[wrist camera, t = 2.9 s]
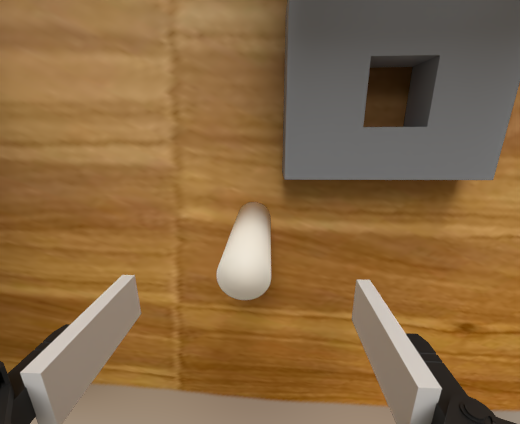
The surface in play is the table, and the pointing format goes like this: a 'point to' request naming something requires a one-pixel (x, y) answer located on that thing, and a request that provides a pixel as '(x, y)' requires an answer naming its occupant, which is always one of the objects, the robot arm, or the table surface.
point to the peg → (247, 254)
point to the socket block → (420, 91)
